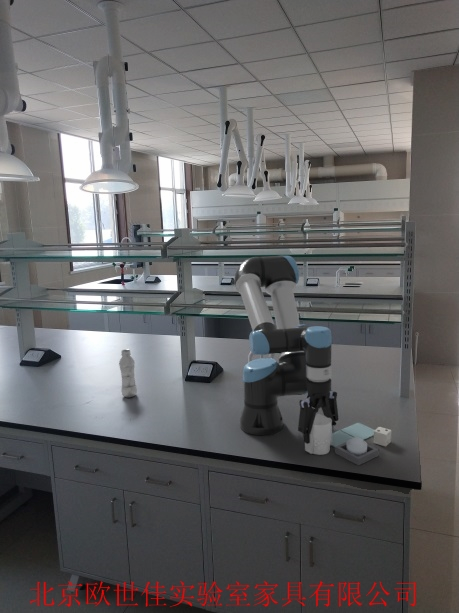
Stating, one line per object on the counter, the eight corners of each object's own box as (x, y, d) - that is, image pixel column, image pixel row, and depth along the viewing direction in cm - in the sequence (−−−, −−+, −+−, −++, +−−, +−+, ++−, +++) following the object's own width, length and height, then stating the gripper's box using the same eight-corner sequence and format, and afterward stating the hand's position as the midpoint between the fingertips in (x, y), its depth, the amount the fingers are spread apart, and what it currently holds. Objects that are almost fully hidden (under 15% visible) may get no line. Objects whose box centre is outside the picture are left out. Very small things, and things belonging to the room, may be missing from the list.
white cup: (328, 442, 142) (328, 413, 141) (334, 455, 135) (334, 424, 133) (303, 443, 142) (303, 414, 140) (308, 456, 135) (308, 426, 133)
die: (373, 442, 141) (373, 430, 140) (378, 438, 144) (379, 426, 143) (385, 446, 139) (386, 434, 138) (390, 441, 141) (391, 429, 141)
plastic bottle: (122, 400, 184) (117, 353, 180) (121, 394, 190) (117, 349, 186) (138, 398, 185) (134, 352, 181) (136, 392, 192) (133, 347, 188)
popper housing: (335, 452, 136) (335, 446, 136) (355, 443, 141) (355, 438, 141) (358, 465, 129) (358, 459, 128) (378, 455, 134) (378, 449, 133)
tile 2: (340, 430, 150) (340, 429, 150) (358, 423, 155) (358, 422, 155) (361, 441, 143) (361, 440, 143) (379, 432, 147) (379, 432, 147)
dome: (342, 451, 136) (342, 437, 135) (355, 445, 139) (355, 431, 138) (357, 459, 131) (358, 445, 130) (371, 453, 134) (371, 438, 133)
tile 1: (319, 439, 145) (319, 438, 145) (339, 431, 150) (339, 430, 150) (340, 450, 138) (340, 449, 137) (360, 441, 142) (360, 440, 142)
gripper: (301, 389, 125) (302, 463, 130) (351, 373, 136) (350, 442, 141) (284, 382, 132) (285, 453, 136) (333, 367, 143) (333, 433, 147)
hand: (318, 447), depth 138 cm, fingers closed on white cup, 8 cm apart
